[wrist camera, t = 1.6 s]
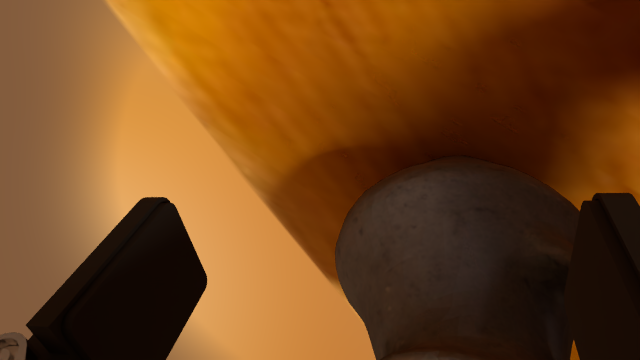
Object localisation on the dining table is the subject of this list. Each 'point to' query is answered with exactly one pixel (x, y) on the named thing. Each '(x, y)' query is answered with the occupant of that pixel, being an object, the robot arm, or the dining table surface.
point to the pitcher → (460, 263)
